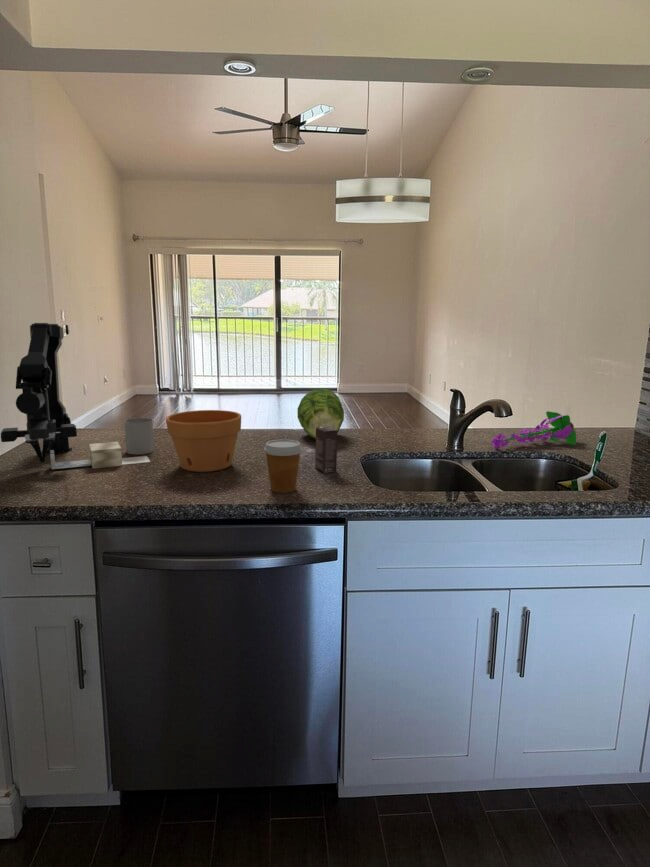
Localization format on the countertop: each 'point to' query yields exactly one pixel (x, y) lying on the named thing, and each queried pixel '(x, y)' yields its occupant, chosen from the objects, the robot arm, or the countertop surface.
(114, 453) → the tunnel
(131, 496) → the countertop surface
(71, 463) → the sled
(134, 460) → the pad
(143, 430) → the cup
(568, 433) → the purple flower
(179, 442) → the flower pot
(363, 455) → the countertop surface
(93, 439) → the countertop surface
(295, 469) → the disposable coffee cup
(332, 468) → the box
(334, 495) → the countertop surface
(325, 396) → the lettuce
